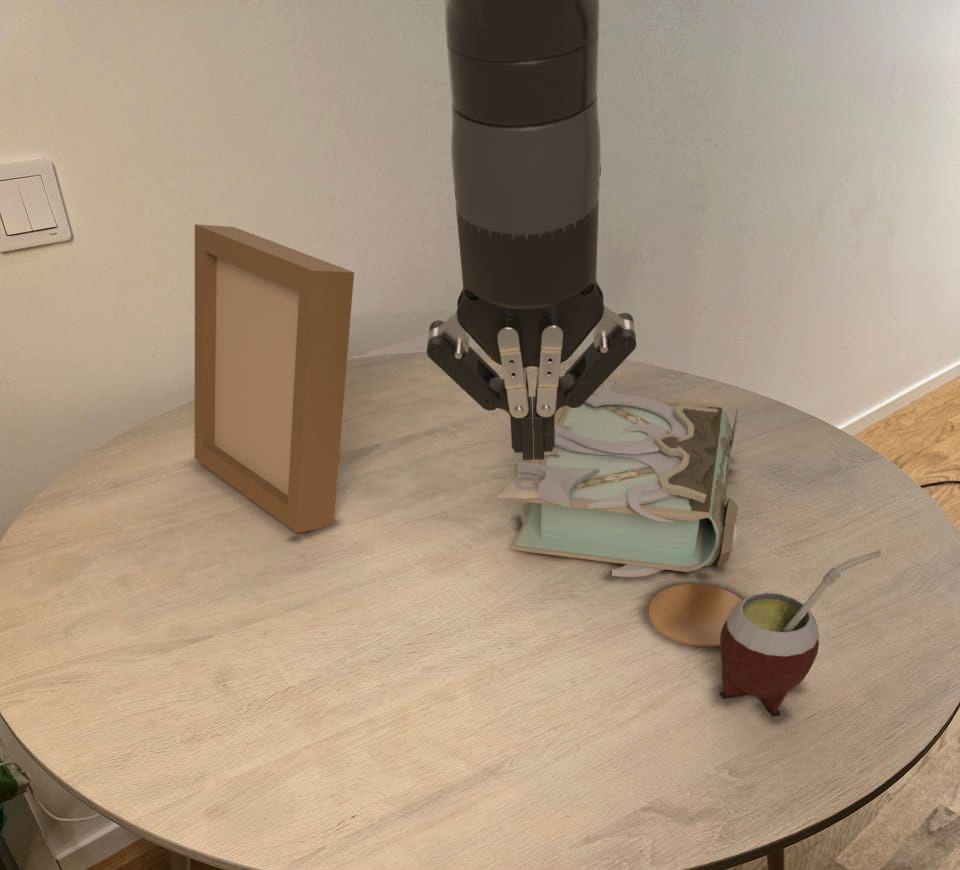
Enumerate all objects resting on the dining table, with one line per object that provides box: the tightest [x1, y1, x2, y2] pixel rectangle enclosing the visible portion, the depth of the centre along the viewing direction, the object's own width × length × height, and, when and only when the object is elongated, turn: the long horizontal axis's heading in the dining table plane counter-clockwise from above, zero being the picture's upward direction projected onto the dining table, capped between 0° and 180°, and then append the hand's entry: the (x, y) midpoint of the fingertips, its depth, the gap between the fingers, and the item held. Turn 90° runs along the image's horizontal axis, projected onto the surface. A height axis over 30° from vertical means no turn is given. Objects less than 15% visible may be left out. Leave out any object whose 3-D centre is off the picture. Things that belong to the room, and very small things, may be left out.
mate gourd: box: [718, 549, 882, 718], centre depth 66 cm, size 8×8×15 cm
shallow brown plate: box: [648, 583, 743, 648], centre depth 78 cm, size 9×9×1 cm
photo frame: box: [194, 223, 355, 534], centre depth 92 cm, size 15×22×25 cm
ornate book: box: [496, 381, 739, 578], centre depth 91 cm, size 23×10×30 cm
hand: (534, 451), depth 60 cm, fingers closed
